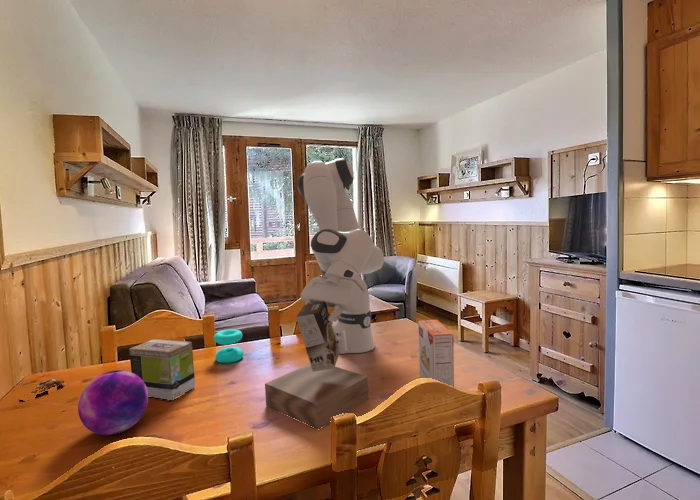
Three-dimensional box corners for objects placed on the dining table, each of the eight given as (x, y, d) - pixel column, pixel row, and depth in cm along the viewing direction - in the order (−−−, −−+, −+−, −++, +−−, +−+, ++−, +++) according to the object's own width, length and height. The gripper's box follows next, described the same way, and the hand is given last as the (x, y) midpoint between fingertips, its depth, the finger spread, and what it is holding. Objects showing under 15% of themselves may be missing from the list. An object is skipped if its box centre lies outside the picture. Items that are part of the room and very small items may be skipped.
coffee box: (335, 368, 106) (318, 312, 103) (312, 372, 107) (294, 316, 104) (341, 351, 115) (325, 299, 111) (319, 355, 116) (303, 303, 113)
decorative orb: (135, 445, 94) (129, 383, 92) (67, 450, 93) (60, 387, 91) (159, 413, 109) (155, 359, 107) (101, 417, 108) (96, 362, 106)
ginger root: (13, 402, 119) (12, 391, 119) (50, 385, 131) (49, 374, 130) (33, 403, 118) (32, 392, 117) (69, 386, 129) (67, 375, 129)
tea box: (196, 387, 124) (193, 340, 123) (172, 402, 115) (168, 352, 113) (158, 382, 129) (154, 337, 128) (131, 396, 120) (127, 347, 118)
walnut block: (266, 407, 111) (264, 383, 110) (317, 382, 126) (316, 360, 125) (318, 432, 98) (317, 404, 97) (368, 400, 113) (367, 376, 112)
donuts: (239, 326, 153) (245, 333, 144) (240, 352, 154) (246, 360, 146) (211, 331, 149) (216, 338, 140) (213, 357, 150) (218, 366, 141)
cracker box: (418, 389, 118) (417, 319, 116) (438, 388, 119) (438, 318, 116) (432, 413, 104) (431, 334, 102) (455, 411, 105) (454, 333, 103)
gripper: (310, 268, 122) (286, 306, 116) (360, 273, 108) (336, 317, 101) (322, 281, 125) (299, 318, 119) (372, 287, 111) (349, 330, 105)
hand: (316, 318), depth 110 cm, fingers closed on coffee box, 8 cm apart
